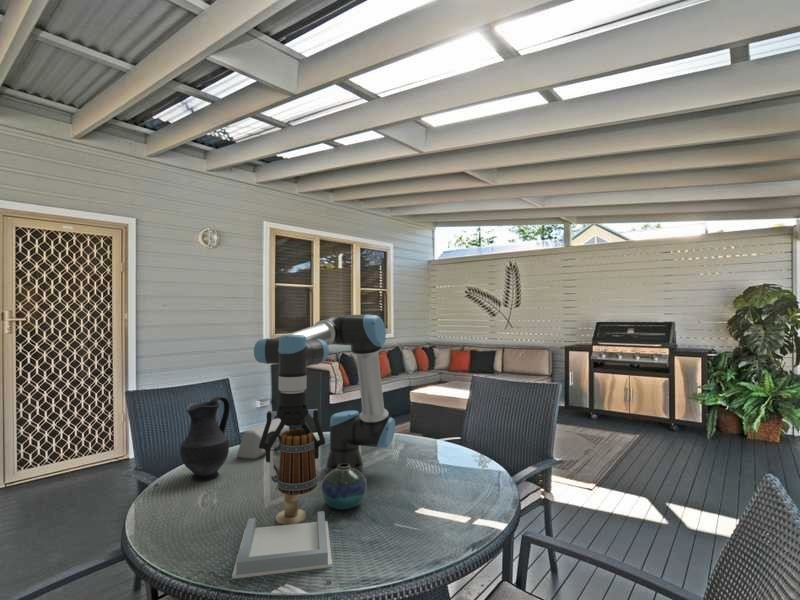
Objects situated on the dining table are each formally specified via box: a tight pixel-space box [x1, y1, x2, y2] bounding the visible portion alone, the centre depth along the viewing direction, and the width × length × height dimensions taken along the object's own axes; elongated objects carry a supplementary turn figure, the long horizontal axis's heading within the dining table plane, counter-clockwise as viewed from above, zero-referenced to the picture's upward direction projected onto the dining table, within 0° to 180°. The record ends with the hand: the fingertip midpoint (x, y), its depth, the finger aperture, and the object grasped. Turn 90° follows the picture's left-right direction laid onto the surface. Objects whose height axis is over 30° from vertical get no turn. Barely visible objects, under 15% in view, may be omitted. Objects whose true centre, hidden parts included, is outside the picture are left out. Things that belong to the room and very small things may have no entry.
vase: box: [320, 463, 368, 511], centre depth 152 cm, size 15×15×13 cm
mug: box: [265, 428, 318, 496], centre depth 125 cm, size 16×11×15 cm
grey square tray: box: [231, 510, 333, 580], centre depth 125 cm, size 24×24×4 cm
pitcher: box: [180, 395, 231, 482], centre depth 180 cm, size 17×21×30 cm
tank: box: [236, 418, 291, 461], centre depth 210 cm, size 25×16×12 cm, turn 161°
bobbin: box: [275, 494, 307, 525], centre depth 142 cm, size 9×9×12 cm
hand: (292, 472), depth 125 cm, fingers closed on mug, 10 cm apart
